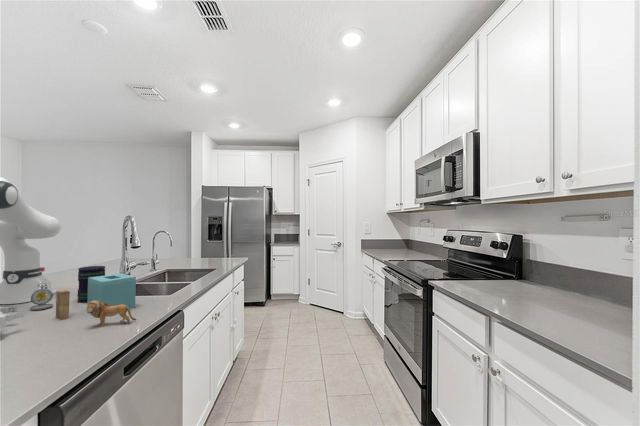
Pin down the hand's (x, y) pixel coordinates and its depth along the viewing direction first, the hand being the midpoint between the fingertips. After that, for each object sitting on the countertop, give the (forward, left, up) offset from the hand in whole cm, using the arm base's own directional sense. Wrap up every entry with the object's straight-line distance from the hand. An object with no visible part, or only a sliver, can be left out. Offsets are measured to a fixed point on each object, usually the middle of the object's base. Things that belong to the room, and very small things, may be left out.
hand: (19, 311), depth 97 cm
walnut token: (-7, +9, -6) cm, 12 cm away
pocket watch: (-24, -6, -6) cm, 26 cm away
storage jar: (-32, +8, -6) cm, 34 cm away
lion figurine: (+6, +29, -6) cm, 30 cm away
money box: (-15, +22, -5) cm, 27 cm away
